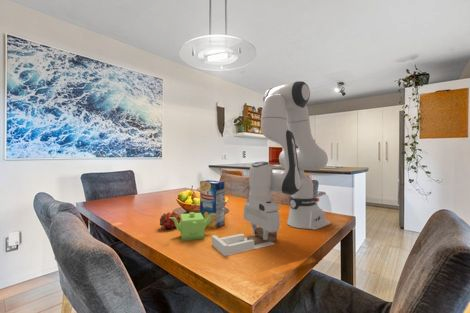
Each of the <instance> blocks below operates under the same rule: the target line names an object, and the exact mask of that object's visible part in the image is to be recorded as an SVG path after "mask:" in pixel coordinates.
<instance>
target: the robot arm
mask: <svg viewBox="0 0 470 313" xmlns="http://www.w3.org/2000/svg"><path fill="white" fill-rule="evenodd" d="M310 95H311V91H310V87H309V85H308V84H307V83H306V82H305V81H301V80H300V81H299V80H298V81H294V82H288V83H283V84H281V85H278V86H274V87H271V88H269V89H267V90H266V91H264V94H263V97H262V98H263V99H262V100H263V101H262V102H263V104H262V109H261V118H260V130H261V133H262V135H263V136H264V138H266V139H267V140H269V141H272V142H275V144H276V143H277V144H278V145H280V146H281V147H282V149H283V150H282V151H281V152H280V153H279V156H278V161H279V164H280V166H281V167H282V168H284V169H279V168H278V169H275V168H272V167H271V165H270V162H268V161H256V162H253V163H252V164H251V165H250V167H249V174H248V186H249V192H248V198H247V199H246V200H245V204H244V207H243V208H244V209H243V219H244V220H245V221H247V222H248V223H250V226H251V229H252V234H253V235H257V228H258V227H261V228H263V231H264V233H263V234H262V239H264V240H267V239H268V233H269V232H271V233H273V232H277V233H278V232H279V230H280V222H281V220H280V213H279V210H280V209H281V208H280V204H278V203H277V202H276V201H275V200H274V199H273V198H272V193H280V194H285V195H289V205H290V206H289V212H288V218H287V222H286V224H287V225H289V226H290V227H292V228H296V229H306V230H319V229H321V228H323V227H324V228H325V227H326V226H328V225H331V221H329V220H328V219H327V218H326V212H325V211H324V209H322V208H321V207H320V206H318V204H316V202H317V203H319V201H320V198H319V197H316V196H315V197H314V182H313V180H312V179H311V178H309V177H308V176H307V175H306V173H305V171H319V170H324V169H325V167H326V166H327V164H328V160H329V159H328V158H329V157H328V155H327V152H326V151H325V150H324V149H322V148H321V147H320V146H319V145H318V143H316V140H315V139H314V137H313V134H312V129H311V122H310V115H309V110H308V106H307V103H308V102H309V101H310ZM296 146H297V147H296ZM271 192H272V193H271Z"/></svg>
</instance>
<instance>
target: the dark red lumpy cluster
mask: <svg viewBox="0 0 470 313" xmlns="http://www.w3.org/2000/svg"><path fill="white" fill-rule="evenodd" d="M160 216H161V217H160V218H159V226H160V227H161V228H164V229H165V230H168V229H174V228H176V226H175V223H174V221H173V220H172V219H171V218H169V217H175V218H176V219H177V221H178V223H179V224H180V223H181V216H180V214H179V213H175V211H173V212H170V211H168V212H166V213H163V214H162V215H160Z"/></svg>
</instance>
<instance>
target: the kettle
mask: <svg viewBox="0 0 470 313" xmlns="http://www.w3.org/2000/svg"><path fill="white" fill-rule="evenodd" d="M169 218H171V219H172V220H173V221H174V223H175V226H176V227H175V228H176V229H177V231H179V232H180V236H181V241H182V242H183V241H184V242H186V241H192V240H193V241H194V240H202V239H203V240H204V239H205V234H206V233H205V231H206V230H205V229H206V227H208V226H207V225H208V223H209V221H210V220H211V217H208V218H207V219H206V220H205V219H204V218H203V216H202V214H201V213H200V212H193V211H191V212H189V213H180V218H181V220H180V222H179V223H178V221H177V219H176V218H175V217H169Z"/></svg>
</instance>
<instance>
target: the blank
mask: <svg viewBox="0 0 470 313" xmlns="http://www.w3.org/2000/svg"><path fill="white" fill-rule="evenodd" d="M263 233H264V231H263V228H261V227H259V226H257V234H256V235H255V234H253V235H249V236H246V238H247V240H254V245H256V244H260V243H265V242H269V241H271V242H274V241H277V240H278V235H277V234H278V231H277V232H273V233H271V232H269V233H268V239H267V240H264V239H262V234H263Z"/></svg>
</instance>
